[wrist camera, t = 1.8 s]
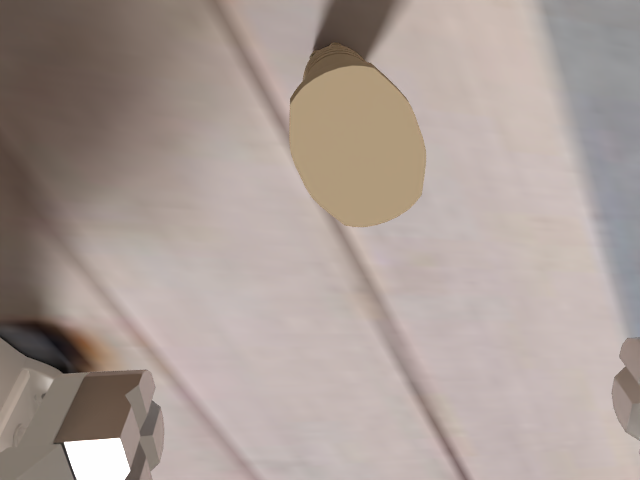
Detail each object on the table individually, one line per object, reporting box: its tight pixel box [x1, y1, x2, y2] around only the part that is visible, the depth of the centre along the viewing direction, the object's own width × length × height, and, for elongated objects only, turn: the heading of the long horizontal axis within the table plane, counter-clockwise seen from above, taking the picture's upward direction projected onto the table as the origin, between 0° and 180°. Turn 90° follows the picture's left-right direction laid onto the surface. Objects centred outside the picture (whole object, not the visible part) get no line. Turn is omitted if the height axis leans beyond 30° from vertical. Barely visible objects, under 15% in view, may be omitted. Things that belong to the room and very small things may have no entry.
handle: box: [289, 42, 426, 227], centre depth 29 cm, size 5×6×15 cm
